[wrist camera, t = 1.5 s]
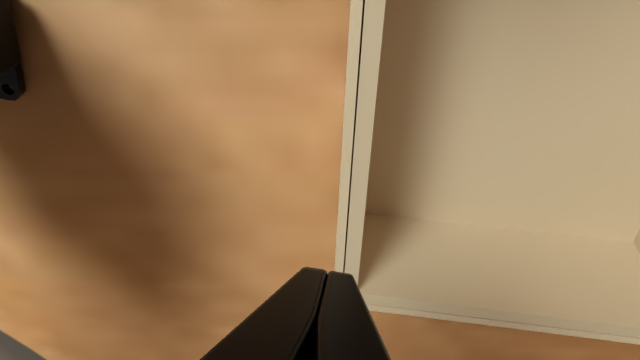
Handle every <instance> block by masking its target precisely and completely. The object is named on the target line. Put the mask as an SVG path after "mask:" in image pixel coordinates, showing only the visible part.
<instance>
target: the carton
mask: <svg viewBox="0 0 640 360" xmlns="http://www.w3.org/2000/svg"><path fill="white" fill-rule="evenodd" d="M335 271H336V272H343V273H349V274H351V275H353V277H354V279H355V281H356V283H357V285H358V288H359V290H360V292H361V294H362V296H363V299H364V301H365V303H366V305H367V308H368V310H369V311H377V312H385V313H393V314H401V315H409V316H417V317H425V318H433V319H441V320H449V321H457V322H464V323H472V324H480V325H488V326H496V327H504V328H512V329H520V330H528V331H536V332H544V333H552V334H560V335H567V336H575V337H583V338H591V339H599V340H607V341H615V342H623V343H631V344H639V345H640V0H351V4H350V21H349V38H348V55H347V71H346V88H345V105H344V121H343V138H342V155H341V172H340V188H339V205H338V222H337V238H336V255H335ZM344 271H345V272H344Z"/></svg>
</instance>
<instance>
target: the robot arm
mask: <svg viewBox="0 0 640 360" xmlns="http://www.w3.org/2000/svg"><path fill="white" fill-rule="evenodd" d="M9 85H10V86H11V87H12V88H13V90H12V89H11V88H10V87H9ZM25 92H26V87H25V82H24V76H23V71H22V66H21V57H20V52H19V46H18V41H17V36H16V31H15V25H14V20H13V15H12V10H11V4H10V0H0V98H2V99H6V100H14V101H15V100H17V99H19V98H20V97H21V96H23V95H24V94H25ZM200 360H391V359H390V356H389V354H388V352H387V350H386V347H385V345H384V343H383V341H382V339H381V336H380V334H379V332H378V330H377V327H376V325H375V323H374V321H373V319H372V316H371V314H370V312H369V310H368V308H367V305H366V303H365V301H364V299H363V296H362V294H361V292H360V290H359V288H358V285H357V283H356V281H355V279H354V277H353V275H351V274H349V273H343V272H336V271H330V272H329V273H328V275H327V272H326V271H325V270H323V269H317V268H310V267H304V268H302V269H301V270H300V271H299V272H298V273H296V274H295V275H294V276H293V277H292V278H291V279H290V280H289V281H287V282H286V283H285V284H284V285H283V286H282V287H281V288H280V289H278V290H277V291H276V292H275V293H274V294H273V295H272V296H271V297H269V298H268V299H267V300H266V301H265V302H264V303H263V304H262V305H261V306H259V307H258V308H257V309H256V310H255V311H254V312H253V313H252V314H250V315H249V316H248V317H247V318H246V319H245V320H244V321H243V322H241V323H240V324H239V325H238V326H237V327H236V328H235V329H234V330H233V331H231V332H230V333H229V334H228V335H227V336H226V337H225V338H224V339H222V340H221V341H220V342H219V343H218V344H217V345H216V346H215V347H213V348H212V349H211V350H210V351H209V352H208V353H207V354H206V355H204V356H203V357H202V358H201V359H200Z"/></svg>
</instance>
